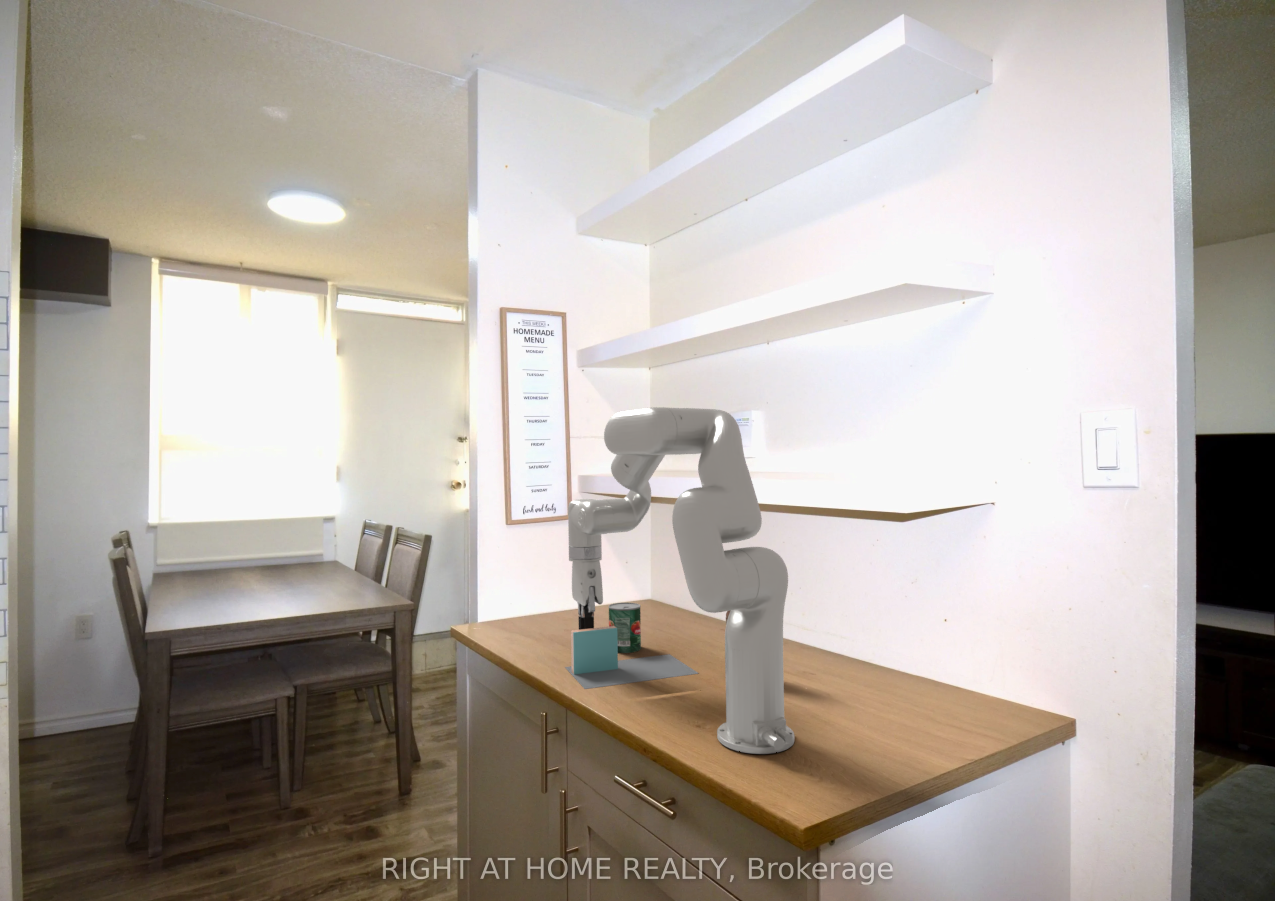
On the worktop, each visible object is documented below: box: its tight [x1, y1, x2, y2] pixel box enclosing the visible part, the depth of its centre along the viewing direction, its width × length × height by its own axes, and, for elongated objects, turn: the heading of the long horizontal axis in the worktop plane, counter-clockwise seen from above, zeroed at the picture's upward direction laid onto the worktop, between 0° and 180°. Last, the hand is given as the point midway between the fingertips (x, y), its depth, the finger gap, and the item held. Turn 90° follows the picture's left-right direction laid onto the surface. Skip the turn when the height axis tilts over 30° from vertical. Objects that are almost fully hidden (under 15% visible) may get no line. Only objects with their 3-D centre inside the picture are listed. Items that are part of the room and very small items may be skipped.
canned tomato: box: [607, 602, 642, 654], centre depth 168 cm, size 8×8×11 cm
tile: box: [570, 626, 619, 674], centre depth 151 cm, size 2×10×9 cm, turn 110°
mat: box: [564, 653, 700, 690], centre depth 150 cm, size 16×26×1 cm, turn 111°
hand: (586, 633), depth 157 cm, fingers closed
